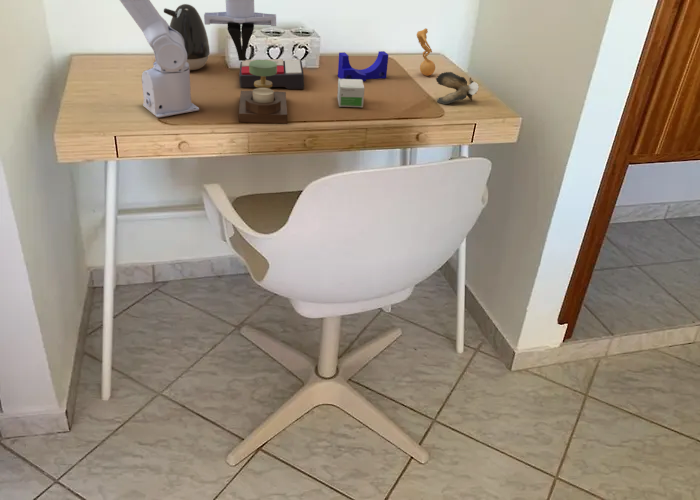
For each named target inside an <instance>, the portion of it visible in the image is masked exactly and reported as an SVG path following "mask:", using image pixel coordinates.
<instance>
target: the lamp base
mask: <svg viewBox="0 0 700 500" xmlns="http://www.w3.org/2000/svg"><path fill="white" fill-rule="evenodd" d="M252 91H253V90H240V94H239V105H238V106H239V107H238V123H247V124H248V123H250V124H251V123H255V124H288V106H287V105H288V104H287V93H286V91H274V101H273V102H270V103H258V102H254V101H253V92H252Z"/></svg>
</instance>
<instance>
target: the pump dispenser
mask: <svg viewBox="0 0 700 500" xmlns="http://www.w3.org/2000/svg"><path fill="white" fill-rule="evenodd" d="M163 13H164V14H166V15H168V16H170V17H171V19H170V23H169V26H170V27H171V28H172V29H174V30H176V31H178V32H179V33H180V34H181V35H182V37H183V39H184V42H185V49H186V52H187V61H186V62H187V63H188V64H189V72H190V71H197V70H200V69H201V68H203V67H204V66H205V65H206V63H207V62H208V59H209V56H210V54H211V51H210V49H211V48H210V43H209V38H208V34H207V30H206V27H205V23H204V21H203V19H202V17H201V15H200V13H199V11H198V10H197V9H196V7H195V6H193V5H192V4H189V3H182V4H180V5H179V6H178V7H176V9H175V10H173V9H169V8H166V7H165V8H163Z"/></svg>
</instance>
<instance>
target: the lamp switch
mask: <svg viewBox="0 0 700 500" xmlns="http://www.w3.org/2000/svg"><path fill="white" fill-rule="evenodd" d="M251 91H252V92H253V101H254V102H258V103H270V102H273V101H274V92H275V91H274V90H273V89H272V88H257V87H255V88H253V90H251Z"/></svg>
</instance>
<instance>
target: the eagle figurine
mask: <svg viewBox="0 0 700 500" xmlns="http://www.w3.org/2000/svg"><path fill="white" fill-rule="evenodd" d="M435 80H436V82H437V84H438V85H439V86H442V87H446V88H447V89H454V90H455V91H453V92H449V93H448V94H445V95H444V96H441V97H438V98H437V100H436V102H437V103H439V104H442V105H443V104H444V105H448V104H453V102H454V103H455V102H456V101H459V100H462V101H463V100H465V99H466V98H468V99H469V100H470V102H473V96H474V95H477V93H478V92H479V89H480V86H479V84H478V82H476V81H474V80H472V77H469V78H468V80H467V79H466V78H465V76H460V75H458V74H456V73H454V72H453V71H444V72H441V73H439V75H437V77H436V78H435ZM468 83H469V84H468Z"/></svg>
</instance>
